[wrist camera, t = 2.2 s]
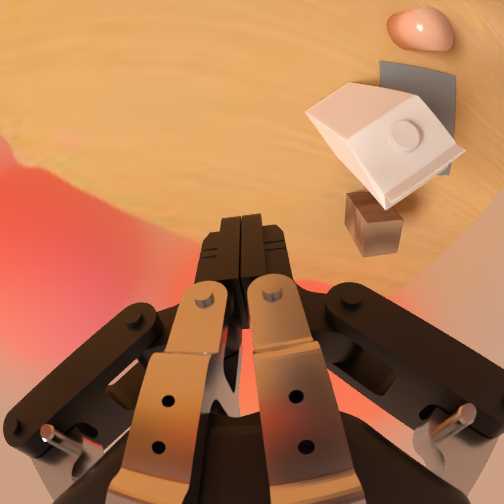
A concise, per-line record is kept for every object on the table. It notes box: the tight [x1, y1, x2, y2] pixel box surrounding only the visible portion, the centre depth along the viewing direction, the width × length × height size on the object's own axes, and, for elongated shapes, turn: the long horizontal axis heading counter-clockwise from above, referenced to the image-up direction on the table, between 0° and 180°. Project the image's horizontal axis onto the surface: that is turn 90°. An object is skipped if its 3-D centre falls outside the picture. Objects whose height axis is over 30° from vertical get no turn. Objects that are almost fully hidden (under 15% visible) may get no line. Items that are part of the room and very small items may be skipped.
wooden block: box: [345, 192, 403, 257], centre depth 34 cm, size 5×5×8 cm
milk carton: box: [305, 82, 466, 210], centre depth 22 cm, size 7×7×19 cm
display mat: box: [379, 61, 456, 175], centre depth 29 cm, size 16×13×1 cm
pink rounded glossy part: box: [387, 7, 454, 51], centre depth 18 cm, size 6×6×7 cm
